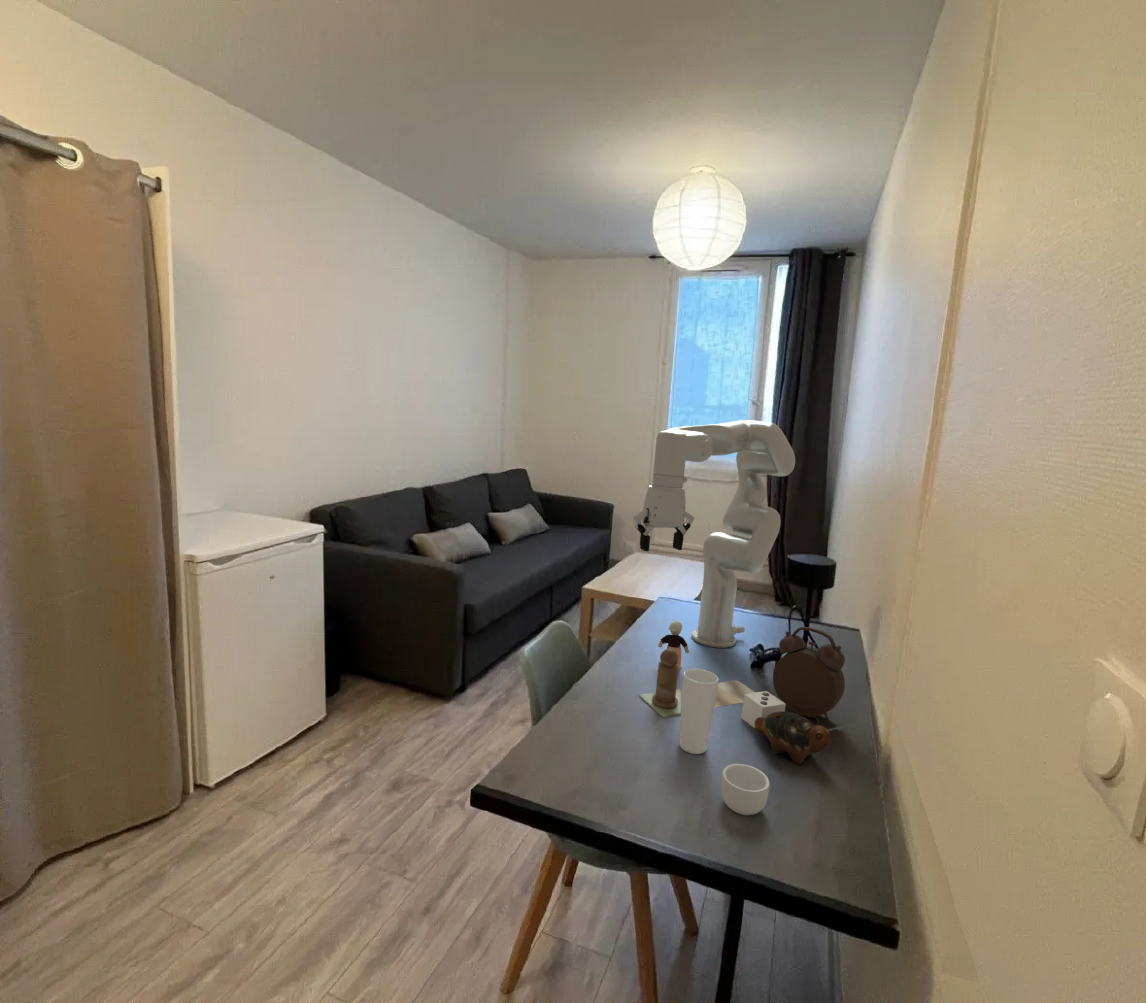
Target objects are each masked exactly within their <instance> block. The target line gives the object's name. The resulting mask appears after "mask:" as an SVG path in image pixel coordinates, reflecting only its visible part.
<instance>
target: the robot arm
mask: <svg viewBox="0 0 1146 1003" xmlns="http://www.w3.org/2000/svg"><path fill="white" fill-rule="evenodd" d="M655 440H656V441H655V449H654V450H655V451H654V459H653V460H654V462H653V471H652V480H651V481H652V482H651V485H648V488H647V491H646V493H645V498H644V502H643V508H642V511H641V512H638V513H637V514H635V515H633V517H632V519H633V523H634V527H635V529H636V530H637V531H638V533H639V534H640V537H639V548H640V550H642V551H644V552H649V550H650V544H651V535H649V534H650V533H651V532H652V531H653V530H654V529H671V528H672V529H673V528H674V529H675V532H673V540H672V548H673V549H675V550H677V551H682V550H683V545H684V536H685V535H686V534H687V531H688V530H689V529H690V528H691V525H692V523H693V521H694V519H695V517H694V516H693V515H692V514H690V513H689V512H687V511H686V491H685V488H684V483H685V484H686V483H687V481H688V478H687V477H685V470H686V469H685V467H686V462H692V463H702V462H706V461H707V460H709V459H710V458H711V456H712V457H713V456H715V457H716V456H721V457H722V456H726V455H727V456H728V455H733V454H736V455H735V457H736V458H735V461H736V468H737V475H738V486H737V488H736V491H735V493H734V495H733V497H732V499H731V501H730V503H729V505H728V507H727V508H726V511H725V513H724V515H723V519H722V525H723V527H724V529H725V530H726V531H727V532H729V533H727V532H722V531H721V532H718V531H717V532H716V531H715V532H712V533H710V534H709V535H707V537H706V538H705V540H704V542H703V548H702V556H703V580H702V589H701V595H700V596H701V598H700V605H699V606H700V607H699V615H698V626H697V629H694V630H692V632H691V638H692V639H693V640H694V641H695V642H697V643H699V644H701V645H704V646H707V647H712V648H719V649H720V648H721V649H723V648H724V649H725V648H730V647H733V646H735V645H736V643H737V638H736V637H735V635H736V634H741V633H742V634H743V633H744V632H745V630H746V629H745V627H744V626H743V625H740V626H736V625H735V624H733V623H734V622H733V621H734V613H735V607H736V606H735V604H736V599H737V598H736V597H737V588H738V581H737V576H736V574H735V571H737V572H740V573H744V574H749V575H755V574H757V573H759V572H760V571H761V569H762V568H763V567H764V565H765V563H766V561H767V560H768V559H767V558H768V557H769V554H770V553H771V550H772V548H773V546H774V544H775V541H776V539H777V537H778V536H779V534H780V528H781V515H780V513H779V512H778V511H777V509H775V508H773V507H770V506H766V505H764V503H765V501H766V498H767V495H768V492H767V487H766V486H765V483H764V481H763V478H762V477H761V475H768V476H773V477H774V476H775V477H786V476H789V475H790V474H791V473H792V472H793V471H794V468H795V465H796V456H795V452H794V450H793V447H792V446H791V444H790V442H789V441H788V438H787V437H786V435H785V434H784V432H783V431H782V429H781V428H780V427H779V425H777V424H776V423H774V422H771V421H763V420H762V421H760V420H749V419H748V420H747V419H740V420H735V421H730V422H723V423H716V424H715V423H714V424H703V425H702V424H701V425H689V426H679V427H673V428H669V429H667V430H661V431H659V432H658V433H657V435H656V439H655ZM642 523H643V524H642Z"/></svg>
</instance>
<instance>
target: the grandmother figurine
mask: <svg viewBox="0 0 1146 1003" xmlns="http://www.w3.org/2000/svg"><path fill="white" fill-rule="evenodd" d="M668 630H669V631H670V633H671V634H666V635H664V636H663V637H662V638H661V639H660V641H659V643H658V645H657V646H658V648H662V647H663V645H664V644H667V646H666V649H672V650H674V651H675V652H676V653H677V654H678V658H679V660H678V663H677V664H678V665H679V669H678V672H680V671H681V670H683V668H682V648H683V650H684V653H686V654H689V653H690V650H689V646H688V643H687V642H686V639H685V638H684V637H683V636H681V635H680V634H681V632H682V630H683V624H682V622H681V621H680V620H679V621H678V620H674V621H671V623H670V624H669V625H668ZM681 646H682V647H681Z"/></svg>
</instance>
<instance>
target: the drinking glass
mask: <svg viewBox="0 0 1146 1003" xmlns="http://www.w3.org/2000/svg"><path fill="white" fill-rule="evenodd" d="M718 683H719V677H718V676H717V674H715V673H714V672H712V671H709V670H708V669H702V668H688V669H687V670H684V671H683V674H682V681H681V688H680V689H681V715H680V720H679V721H680V725H679V726H680V728H679V730H680V731H679V741H678V743H679V747H680V748H681V750H683V751H684V752H686V753H688V754H691V755H701V754H704V753H706V751H707V748H708V741H709V738H710V737H709V736H710V731H711V728H712V721H713V719H714V718H713V716H714V712H715V708H716V707H715V704H716V699H717V692H718Z"/></svg>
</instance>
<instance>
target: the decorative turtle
mask: <svg viewBox="0 0 1146 1003" xmlns="http://www.w3.org/2000/svg"><path fill="white" fill-rule="evenodd" d="M754 730H755V731H756V732H758V733H760V734H763V735H764V736H766V737H767V739H768V741H769V743H770V748H771V750H772V752H773V753H774V754H775V755H781V754H783V753H785V752H786V753H787V754H788V755H789V757H790V759H791V761H792V762H793V763H794V764H796V765H800V764H802V763H803V761H804V760H805V759H806V758H807V757H808V756H811V755H812V754H814V753H818V752H821V751H823V750H825V749H826V748H827V747H828V746H829V745H831V741H832V735H831V733H830V732H829V731H830V730H828V729H827V728H826V727H824V726H822V725H819V724H815V725H814V723H813V722H811V721H810V720H809V719H807V718H806V716H803V715H800V714H797V713H795V712H793V711H785V712H782V711H780V712H775V713H772V714H770V715H768V716H767V717H766V718H761V717H759V718H757V719H756V720H755V728H754Z"/></svg>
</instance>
